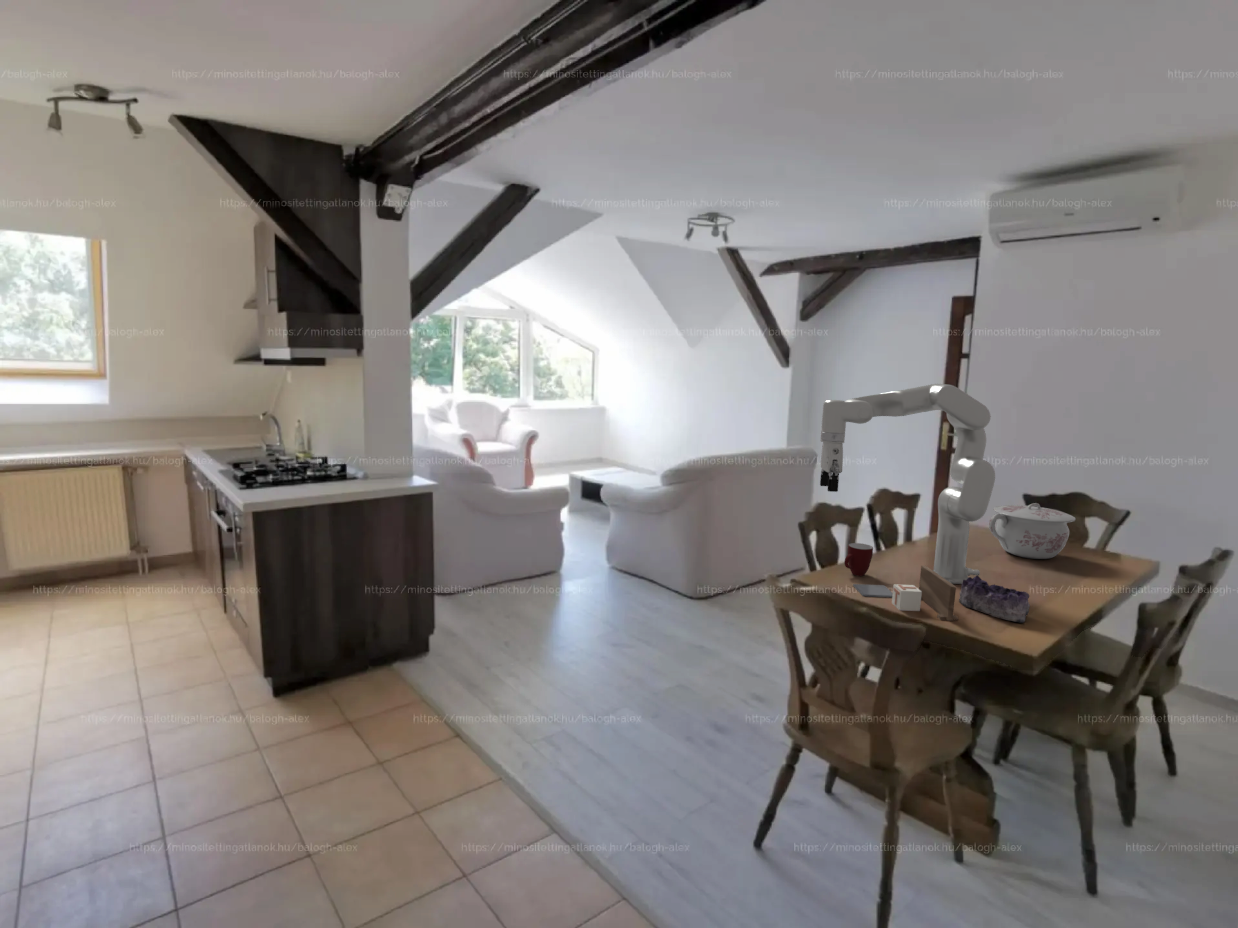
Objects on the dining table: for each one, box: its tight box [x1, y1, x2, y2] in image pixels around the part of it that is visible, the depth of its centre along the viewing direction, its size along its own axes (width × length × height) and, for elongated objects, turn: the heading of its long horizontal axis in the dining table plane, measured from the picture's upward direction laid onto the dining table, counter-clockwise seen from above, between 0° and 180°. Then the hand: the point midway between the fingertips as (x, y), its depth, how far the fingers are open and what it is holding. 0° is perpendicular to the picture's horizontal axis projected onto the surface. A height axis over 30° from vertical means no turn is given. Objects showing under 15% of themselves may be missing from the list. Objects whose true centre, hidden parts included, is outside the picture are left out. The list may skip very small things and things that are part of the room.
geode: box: [958, 575, 1031, 624], centre depth 198 cm, size 20×12×10 cm, turn 37°
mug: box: [844, 542, 874, 577], centre depth 230 cm, size 10×8×10 cm
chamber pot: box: [988, 502, 1076, 560], centre depth 262 cm, size 28×28×21 cm
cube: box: [891, 583, 922, 612], centre depth 200 cm, size 6×6×6 cm
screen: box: [918, 565, 959, 622], centre depth 199 cm, size 5×20×10 cm, turn 178°
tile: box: [852, 583, 893, 598], centre depth 213 cm, size 10×10×1 cm
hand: (828, 488), depth 224 cm, fingers open, 9 cm apart
